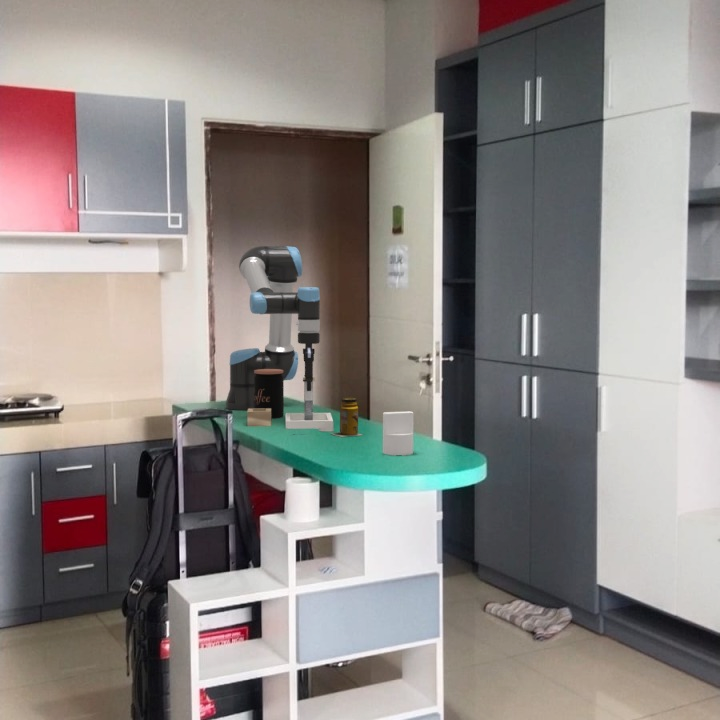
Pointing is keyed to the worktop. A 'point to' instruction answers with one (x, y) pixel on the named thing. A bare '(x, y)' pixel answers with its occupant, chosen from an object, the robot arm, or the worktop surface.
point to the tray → (309, 421)
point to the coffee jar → (269, 391)
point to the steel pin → (308, 406)
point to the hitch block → (259, 417)
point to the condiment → (348, 418)
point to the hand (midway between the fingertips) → (308, 399)
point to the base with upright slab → (398, 433)
